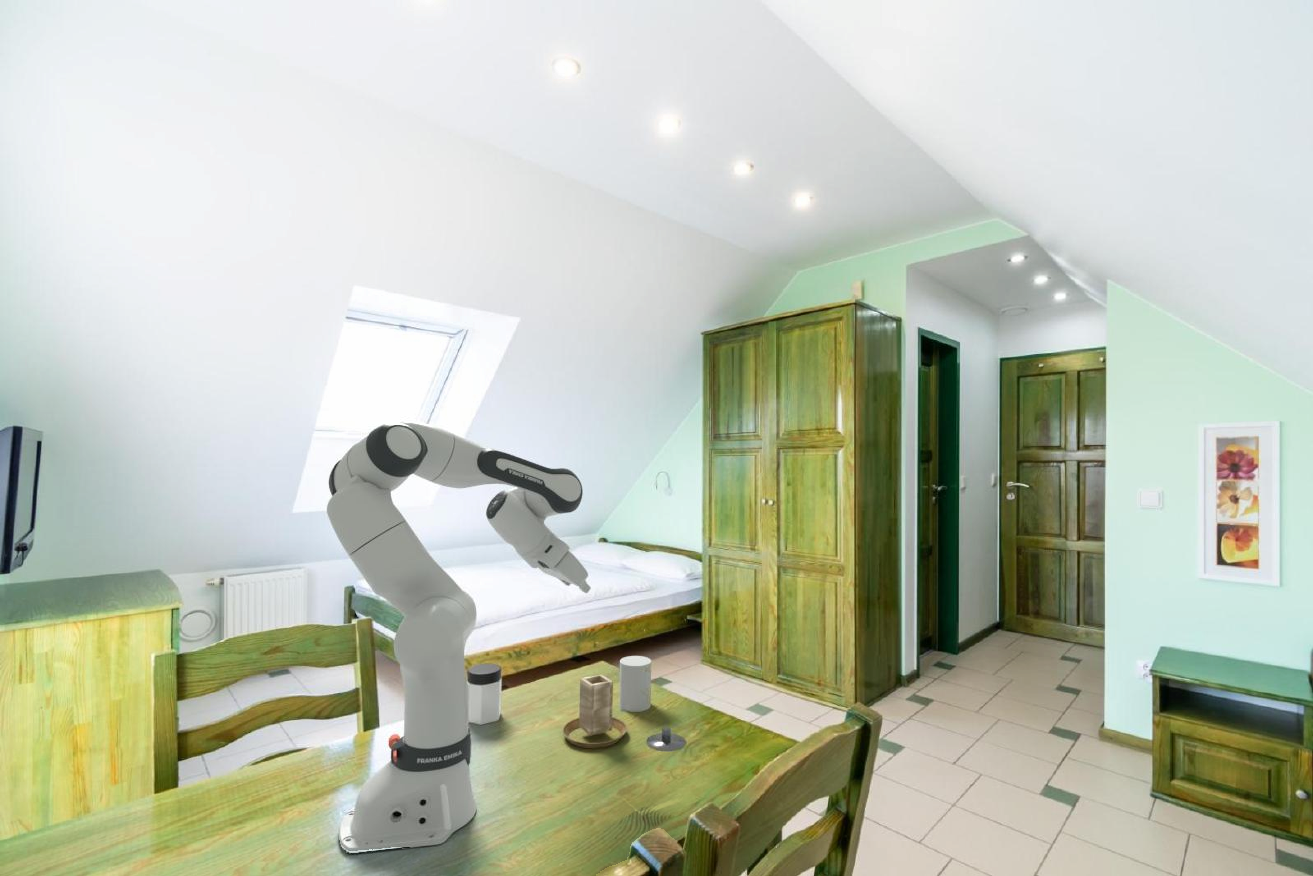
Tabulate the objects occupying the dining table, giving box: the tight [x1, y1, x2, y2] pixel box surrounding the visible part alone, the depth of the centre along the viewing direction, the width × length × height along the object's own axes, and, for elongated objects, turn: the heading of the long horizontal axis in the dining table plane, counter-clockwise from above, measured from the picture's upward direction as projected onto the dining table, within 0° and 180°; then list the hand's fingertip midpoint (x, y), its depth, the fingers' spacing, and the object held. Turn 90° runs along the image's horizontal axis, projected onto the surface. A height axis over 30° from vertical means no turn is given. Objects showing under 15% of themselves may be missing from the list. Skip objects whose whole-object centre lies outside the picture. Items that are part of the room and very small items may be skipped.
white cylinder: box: [618, 655, 652, 713], centre depth 162 cm, size 8×8×12 cm
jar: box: [466, 663, 503, 726], centre depth 155 cm, size 9×8×12 cm
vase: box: [578, 673, 614, 737], centre depth 145 cm, size 7×6×11 cm
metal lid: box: [645, 726, 687, 752], centre depth 142 cm, size 9×9×4 cm
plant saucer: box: [562, 716, 628, 749], centre depth 144 cm, size 15×15×3 cm
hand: (578, 586), depth 151 cm, fingers open, 8 cm apart
